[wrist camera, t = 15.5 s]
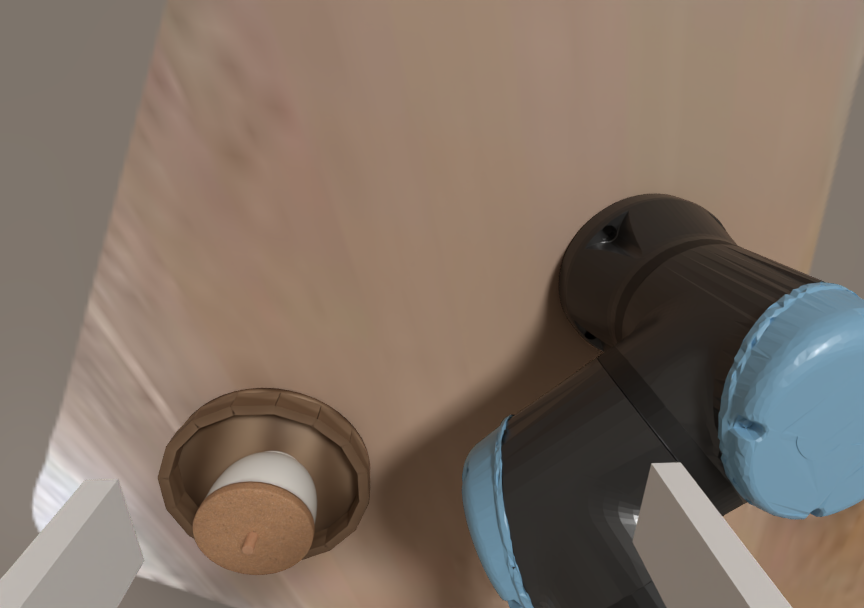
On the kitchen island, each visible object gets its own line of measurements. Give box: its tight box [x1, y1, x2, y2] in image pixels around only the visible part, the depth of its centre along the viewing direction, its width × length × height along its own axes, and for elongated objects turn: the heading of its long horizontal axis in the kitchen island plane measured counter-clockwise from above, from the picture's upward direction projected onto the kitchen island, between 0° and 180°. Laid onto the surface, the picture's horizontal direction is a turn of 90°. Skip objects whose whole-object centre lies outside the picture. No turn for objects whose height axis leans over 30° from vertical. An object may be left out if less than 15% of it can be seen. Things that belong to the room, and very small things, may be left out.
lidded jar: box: [193, 451, 317, 575], centre depth 46 cm, size 11×11×9 cm
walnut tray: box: [158, 388, 370, 560], centre depth 50 cm, size 21×21×3 cm
